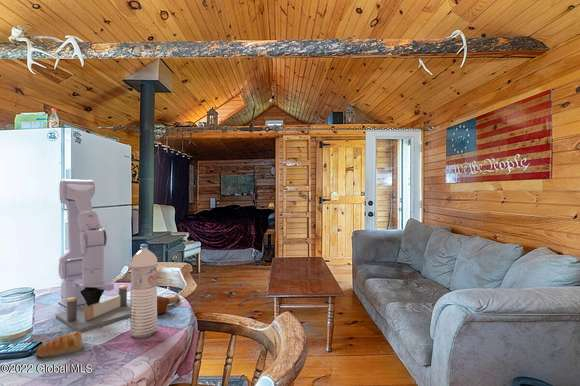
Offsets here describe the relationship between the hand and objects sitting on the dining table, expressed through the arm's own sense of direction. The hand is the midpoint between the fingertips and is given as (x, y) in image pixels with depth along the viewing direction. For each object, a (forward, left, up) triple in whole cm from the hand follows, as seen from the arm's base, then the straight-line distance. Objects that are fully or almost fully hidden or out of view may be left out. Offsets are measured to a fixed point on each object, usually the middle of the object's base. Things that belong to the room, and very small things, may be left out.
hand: (93, 311), depth 100 cm
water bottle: (+22, +4, -3) cm, 23 cm away
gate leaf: (+1, +3, -1) cm, 3 cm away
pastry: (+15, -13, -3) cm, 20 cm away
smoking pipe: (+8, +19, -3) cm, 21 cm away
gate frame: (-2, +3, -2) cm, 4 cm away
